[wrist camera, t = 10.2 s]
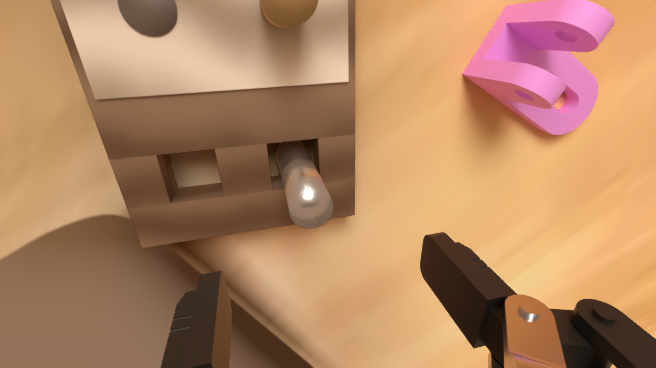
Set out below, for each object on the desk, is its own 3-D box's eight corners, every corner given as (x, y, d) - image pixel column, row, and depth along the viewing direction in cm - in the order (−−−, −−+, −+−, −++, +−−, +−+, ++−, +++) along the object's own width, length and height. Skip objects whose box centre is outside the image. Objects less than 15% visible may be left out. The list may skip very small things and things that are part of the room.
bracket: (460, 73, 25) (529, 86, 19) (504, 5, 24) (594, -5, 17) (552, 140, 30) (629, 166, 24) (593, 87, 29) (686, 101, 22)
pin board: (39, -100, 16) (-118, -201, 9) (342, -89, 19) (396, -159, 12) (151, 228, 25) (114, 302, 18) (346, 200, 28) (377, 254, 21)
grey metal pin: (274, 140, 24) (287, 192, 16) (305, 137, 24) (332, 186, 16) (277, 169, 25) (291, 231, 17) (307, 165, 25) (334, 224, 17)
